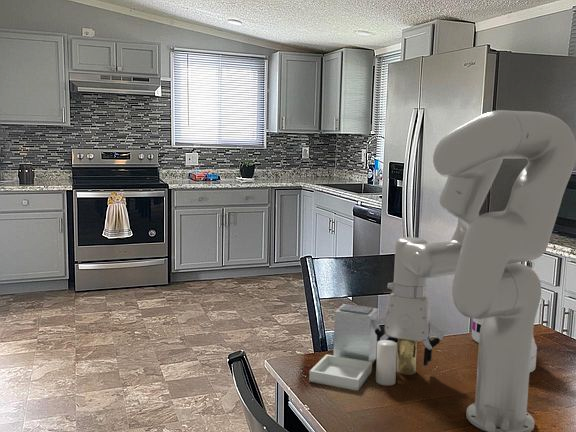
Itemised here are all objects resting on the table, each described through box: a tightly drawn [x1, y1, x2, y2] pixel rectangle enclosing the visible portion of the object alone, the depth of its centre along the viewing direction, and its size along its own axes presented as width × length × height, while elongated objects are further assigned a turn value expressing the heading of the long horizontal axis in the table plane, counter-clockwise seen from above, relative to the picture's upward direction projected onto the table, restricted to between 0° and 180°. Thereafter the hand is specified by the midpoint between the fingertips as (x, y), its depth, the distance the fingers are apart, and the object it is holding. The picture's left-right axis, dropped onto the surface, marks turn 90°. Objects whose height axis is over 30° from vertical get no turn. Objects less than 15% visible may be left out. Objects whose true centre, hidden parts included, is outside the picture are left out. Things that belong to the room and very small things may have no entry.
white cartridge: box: [375, 339, 398, 386], centre depth 131 cm, size 4×4×9 cm
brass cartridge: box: [396, 338, 418, 376], centre depth 137 cm, size 4×4×9 cm
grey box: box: [333, 303, 379, 364], centre depth 143 cm, size 7×9×13 cm
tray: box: [308, 353, 373, 392], centre depth 133 cm, size 11×11×2 cm
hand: (405, 359), depth 138 cm, fingers open, 9 cm apart
